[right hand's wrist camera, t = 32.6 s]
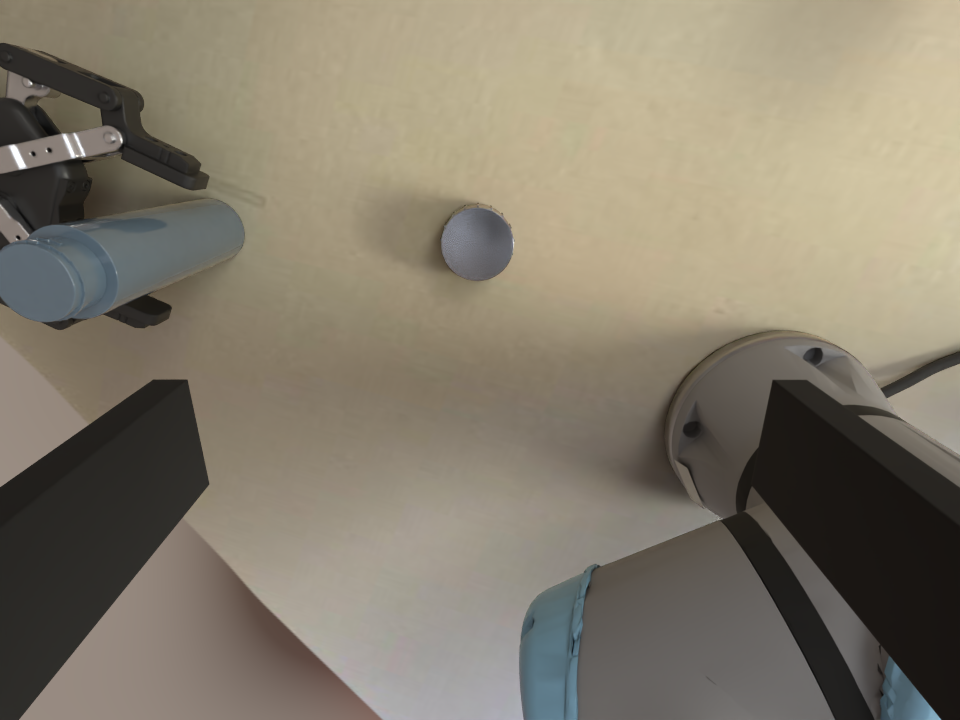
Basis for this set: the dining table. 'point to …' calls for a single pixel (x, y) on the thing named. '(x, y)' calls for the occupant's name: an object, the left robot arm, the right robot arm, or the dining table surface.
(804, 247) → the dining table surface
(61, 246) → the blue thermos bottle
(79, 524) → the right robot arm
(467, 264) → the lid
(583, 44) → the dining table surface
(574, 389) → the dining table surface
